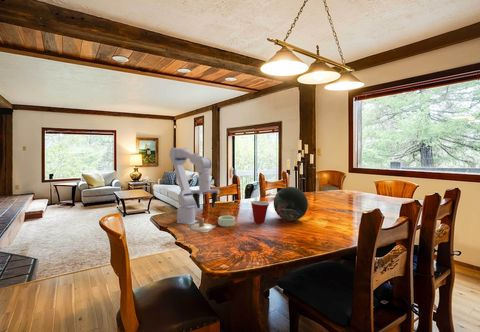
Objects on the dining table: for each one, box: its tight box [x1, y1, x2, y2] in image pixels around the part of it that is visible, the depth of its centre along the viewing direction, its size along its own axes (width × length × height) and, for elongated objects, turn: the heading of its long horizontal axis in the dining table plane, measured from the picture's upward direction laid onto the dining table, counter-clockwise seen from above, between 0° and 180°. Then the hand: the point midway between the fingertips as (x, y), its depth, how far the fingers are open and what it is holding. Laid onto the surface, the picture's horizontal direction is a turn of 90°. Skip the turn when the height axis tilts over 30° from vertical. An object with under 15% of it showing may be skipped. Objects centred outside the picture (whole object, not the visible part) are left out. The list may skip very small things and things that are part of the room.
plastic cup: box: [250, 200, 270, 225], centre depth 151 cm, size 11×11×12 cm
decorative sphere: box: [273, 186, 309, 222], centre depth 157 cm, size 20×20×20 cm
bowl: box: [217, 215, 236, 227], centre depth 146 cm, size 9×9×4 cm
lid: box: [190, 217, 213, 232], centre depth 138 cm, size 11×11×5 cm
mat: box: [185, 224, 217, 233], centre depth 139 cm, size 12×12×1 cm
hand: (205, 207), depth 137 cm, fingers open, 7 cm apart
